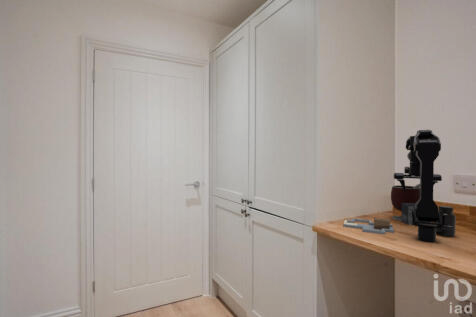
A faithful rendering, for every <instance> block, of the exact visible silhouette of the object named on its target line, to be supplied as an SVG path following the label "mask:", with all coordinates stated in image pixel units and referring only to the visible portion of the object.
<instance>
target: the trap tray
mask: <svg viewBox="0 0 476 317" xmlns="http://www.w3.org/2000/svg"><path fill="white" fill-rule="evenodd" d="M355 222H356V223H355ZM357 222H358V223H357ZM363 223H367V224H363ZM342 226H343V227H344V228H351V229H352V228H353V229H360V230H362V233H370V234H379V235H386V233H392V234H394V233H395V229H394V228H393V226H394V225H393V224H390V229H383V228H382V230H379V229H374V222H372V220H370V219H362V218H351V219H345V220H344V222H343V224H342Z"/></svg>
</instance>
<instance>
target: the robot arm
mask: <svg viewBox="0 0 476 317" xmlns="http://www.w3.org/2000/svg"><path fill="white" fill-rule="evenodd" d="M441 144H442V143H441V139H440V137H439V136H437V135H436V134H434V133H433V130H430V129H419V130H417V131H416V134H415V135H410V136H409V137H408V138H407V140H406V142H405V149H406V151H409V152H408V153H407V155H406V157H407V159H408V161H409V166H404V171H403V172H404V173H403V172H394V173H393V179H394V180H396V181H397V182H399V184H400V185H401V186H402V188H403V192H404V194H405V193H406V190H405V186H406V181H405V179H414V180H415V179H416V180H417V179H418V180H419V184H420V199H419V200H418V201H417V202H416V203H415V209H413V211H412V225H411V226H414V227H417V240H419V241H421V242H424V243H429V244H430V243H431V244H433V243H435V242H437V237H436V236H437V234H436V228H438V229H442V222H441V216H440V211H439V206H438V205H437V203H436V202H435V200H434V186H435V184H438V183H439V182H442V180H443V178H442V175H441V174H439V173H435V172H434V170H435V168H434V167H435V166H434V163H435V161H436V160H437V159H438V158H439V155H440V152H441V149H442V145H441ZM436 220H437V223H435V222H436ZM424 221H427V222H424Z"/></svg>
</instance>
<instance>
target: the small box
mask: <svg viewBox="0 0 476 317" xmlns="http://www.w3.org/2000/svg"><path fill="white" fill-rule="evenodd" d="M413 209H415V203H401V211H400V212H401V213H400V214H401V215H400V216H401V221H400V222H401V223H403V224H405V225H408V226H413V225H412V211H413ZM424 222H427V221H424Z"/></svg>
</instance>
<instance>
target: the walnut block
mask: <svg viewBox="0 0 476 317" xmlns="http://www.w3.org/2000/svg"><path fill="white" fill-rule="evenodd" d="M373 223H374V229H379V230H378V231H380V230H382V228H383V229H390V225H391V220H390V218H383V217H373Z"/></svg>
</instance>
